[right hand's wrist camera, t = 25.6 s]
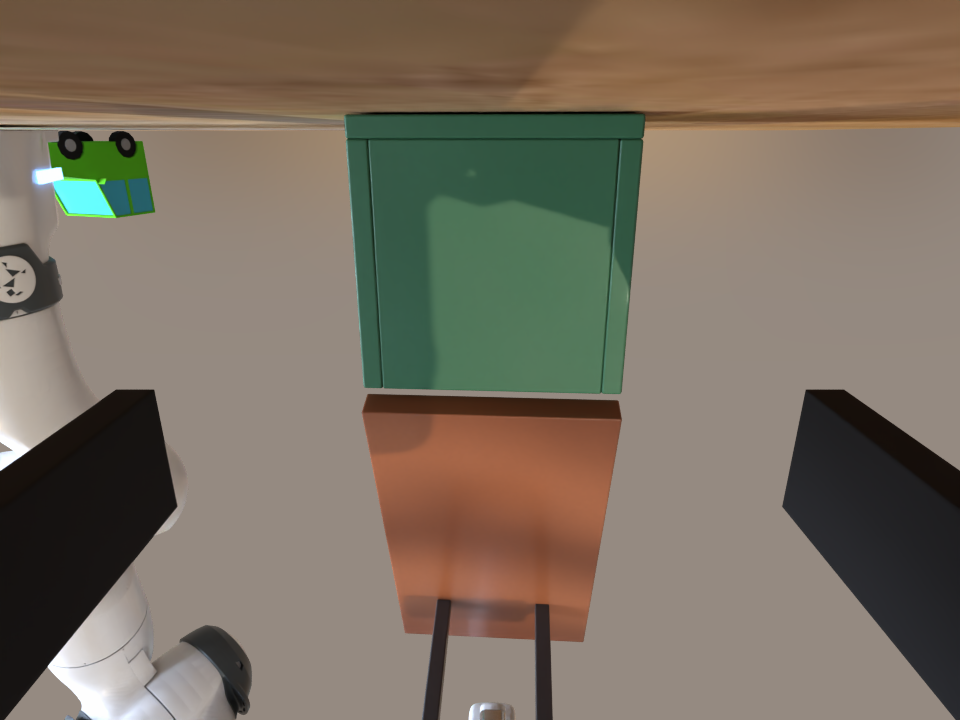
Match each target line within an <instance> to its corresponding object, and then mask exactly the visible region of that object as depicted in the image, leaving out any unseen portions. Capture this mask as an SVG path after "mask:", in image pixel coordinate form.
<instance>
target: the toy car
mask: <svg viewBox="0 0 960 720" xmlns="http://www.w3.org/2000/svg"><path fill="white" fill-rule="evenodd" d="M58 136H59V141H58V142H48V147H49V154H50V161H51V168H52V169H53V168H61V170H62V174H63V179H62V180H58V181H53V182H54V189H55V196H56V198H57V200H58V202H59V203H60V205H61V207H62V208H63V210H64V212H65V214H66V215H70V216H89V217H109V218H119V217H126V216H133V215H140V214H147V213H154V212H155V208H154V203H153V197H152V192H151V186H150V180H149V175H148V170H147V164H146V158H145V153H144V147H143V142H142V141H134V138H133V137H132V136H131V135H130V134H129V133H127V132H124V131H116V132H114V133H112V134H111V135H110V137H109V141H93V139H92V137H91V136H90V135H89V134H88V133H85V132H82V131H75V132H69V131H59V132H58Z"/></svg>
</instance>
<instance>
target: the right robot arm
mask: <svg viewBox="0 0 960 720" xmlns="http://www.w3.org/2000/svg"><path fill="white" fill-rule="evenodd" d="M177 507H178V506H177V501H176V496H175V491H174V486H173V481H172V476H171V471H170V466H169V461H168V456H167V451H166V446H165V441H164V436H163V431H162V426H161V421H160V416H159V411H158V406H157V401H156V397H155V391H154V390H115V391H113V392H112V393H111V394H109V395H108V396H106V397H105V398H103V399H102V400H101V401H99V402H98V403H96V404H95V405H93V406H92V407H91V408H89V409H88V410H86V411H85V412H83V413H82V414H81V415H79V416H78V417H76V418H75V419H73V420H72V421H71V422H69V423H68V424H66V425H65V426H63V427H62V428H61V429H59V430H58V431H56V432H55V433H53V434H52V435H51V436H49V437H48V438H46V439H45V440H43V441H42V442H41V443H39V444H38V445H36V446H35V447H33V448H32V449H31V450H29V451H28V452H26V453H25V454H23V455H22V456H21V457H19V458H18V459H16V460H15V461H13V462H12V463H11V464H9V465H8V466H6V467H5V468H3V469H2V470H1V471H0V720H4V719H5V718H6V717H7V716H8V715H9V713H10V712H11V711H12V710H13V708H14V707H15V706H16V705H17V704H18V702H19V701H20V700H21V698H22V697H23V696H24V695H25V694H26V692H27V691H28V690H29V689H30V687H31V686H32V685H33V684H34V683H35V681H36V680H37V679H38V678H39V676H40V675H41V674H42V673H43V671H44V670H45V669H46V668H47V667H48V665H49V664H50V663H51V662H52V661H53V659H54V658H55V657H56V656H57V654H58V653H59V652H60V651H61V649H62V648H63V647H64V646H65V645H66V643H67V642H68V641H69V640H70V638H71V637H72V636H73V635H74V633H75V632H76V631H77V630H78V629H79V627H80V626H81V625H82V624H83V622H84V621H85V620H86V619H87V617H88V616H89V615H90V614H91V613H92V611H93V610H94V609H95V608H96V606H97V605H98V604H99V603H100V602H101V600H102V599H103V598H104V597H105V595H106V594H107V593H108V592H109V590H110V589H111V588H112V587H113V586H114V584H115V583H116V582H117V581H118V579H119V578H120V577H121V576H122V574H123V573H124V572H125V571H126V570H127V568H128V567H129V566H130V565H131V563H132V562H133V561H134V560H135V558H136V557H137V556H138V555H139V554H140V552H141V551H142V550H143V549H144V547H145V546H146V545H147V544H148V543H149V541H150V540H151V539H152V538H153V536H154V535H155V534H156V533H157V531H158V530H159V529H160V528H161V527H162V525H163V524H164V523H165V522H166V520H167V519H168V518H169V517H170V515H171V514H172V513H173V512H174V511H175V509H176V508H177ZM782 507H783V508H784V509H785V511H786V512H787V513H788V514H789V515H790V517H791V518H792V519H793V520H794V522H795V523H796V524H797V525H798V527H799V528H800V529H801V530H802V531H803V533H804V534H805V535H806V536H807V538H808V539H809V540H810V541H811V542H812V544H813V545H814V546H815V547H816V549H817V550H818V551H819V552H820V554H821V555H822V556H823V557H824V558H825V560H826V561H827V562H828V563H829V565H830V566H831V567H832V568H833V570H834V571H835V572H836V573H837V574H838V576H839V577H840V578H841V579H842V581H843V582H844V583H845V584H846V586H847V587H848V588H849V589H850V590H851V592H852V593H853V594H854V595H855V597H856V598H857V599H858V600H859V602H860V603H861V604H862V605H863V606H864V608H865V609H866V610H867V611H868V613H869V614H870V615H871V616H872V617H873V619H874V620H875V621H876V622H877V624H878V625H879V626H880V627H881V629H882V630H883V631H884V632H885V633H886V635H887V636H888V637H889V638H890V640H891V641H892V642H893V643H894V645H895V646H896V647H897V648H898V649H899V651H900V652H901V653H902V654H903V656H904V657H905V658H906V659H907V661H908V662H909V663H910V664H911V665H912V667H913V668H914V669H915V670H916V672H917V673H918V674H919V675H920V676H921V678H922V679H923V680H924V681H925V683H926V684H927V685H928V686H929V688H930V689H931V690H932V691H933V692H934V694H935V695H936V696H937V697H938V698H939V700H940V701H941V702H942V704H943V705H944V706H945V707H946V708H947V710H948V711H949V712H950V713H951V715H952V716H953V717H954V718H955V719H956V720H960V471H959V470H958V469H957V468H955V467H954V466H952V465H951V464H949V463H948V462H947V461H945V460H944V459H942V458H941V457H939V456H938V455H937V454H935V453H934V452H932V451H931V450H929V449H928V448H927V447H925V446H924V445H922V444H921V443H919V442H918V441H917V440H915V439H914V438H912V437H911V436H909V435H908V434H907V433H905V432H904V431H902V430H901V429H899V428H898V427H897V426H895V425H894V424H892V423H891V422H889V421H888V420H887V419H885V418H884V417H882V416H881V415H879V414H878V413H877V412H875V411H874V410H872V409H871V408H869V407H868V406H867V405H865V404H864V403H862V402H861V401H859V400H858V399H856V398H855V397H854V396H852V395H851V394H849V393H848V392H847V391H845V390H806V392H805V397H804V401H803V407H802V411H801V416H800V421H799V426H798V431H797V436H796V441H795V446H794V451H793V456H792V461H791V466H790V471H789V476H788V481H787V486H786V491H785V496H784V501H783V506H782Z"/></svg>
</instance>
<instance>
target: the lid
mask: <svg viewBox="0 0 960 720" xmlns="http://www.w3.org/2000/svg"><path fill="white" fill-rule="evenodd" d="M362 416H363V421H364V426H365V431H366V436H367V442H368V446H369V452H370V457H371V462H372V467H373V472H374V477H375V482H376V487H377V492H378V498H379V503H380V508H381V513H382V518H383V523H384V528H385V533H386V538H387V543H388V549H389V554H390V559H391V564H392V569H393V574H394V579H395V584H396V589H397V594H398V599H399V604H400V610H401V615H402V620H403V625H404V630H405V633H412V634H432V635H433V636H432V644H431V652H430V660H429V668H428V676H427V684H426V692H425V700H424V708H423V716H422V720H440V711H441V701H442V692H443V682H444V673H445V663H446V654H447V644H448V635H452V636H472V637H492V638H512V639H532V640H535V699H536V720H553V716H552V681H551V647H550V640H553V641H572V642H583V641H584V635H585V630H586V624H587V618H588V612H589V607H590V601H591V595H592V589H593V583H594V578H595V572H596V566H597V560H598V554H599V548H600V543H601V537H602V531H603V526H604V520H605V514H606V508H607V502H608V497H609V491H610V485H611V479H612V474H613V468H614V462H615V456H616V450H617V445H618V439H619V433H620V427H621V421H622V418H621V412H620V406H619V401H617V400H582V399H543V398H504V397H465V396H426V395H387V394H368V395H367V397H366V401H365V404H364V407H363V410H362Z"/></svg>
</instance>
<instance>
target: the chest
mask: <svg viewBox="0 0 960 720" xmlns="http://www.w3.org/2000/svg"><path fill="white" fill-rule="evenodd" d="M344 122H345V135H346V138H348V139H347V140H346V150H347V164H348V178H349V191H350V205H351V219H352V233H353V246H354V260H355V274H356V287H357V301H358V315H359V328H360V343H361V356H362V370H363V383H364V387H365V388H382V387H384V388H395V389H435V390H475V391H515V392H556V393H595V394H599V393H601V392H602V393H604V394H620V393H621V392H622V381H623V369H624V358H625V346H626V335H627V323H628V312H629V300H630V289H631V277H632V266H633V255H634V243H635V231H636V220H637V208H638V197H639V185H640V174H641V163H642V151H643V140H642V139H641V138H643V136H644V128H645V114H347V115H345V116H344Z"/></svg>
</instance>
